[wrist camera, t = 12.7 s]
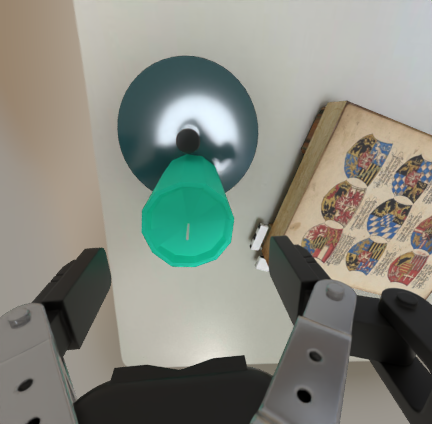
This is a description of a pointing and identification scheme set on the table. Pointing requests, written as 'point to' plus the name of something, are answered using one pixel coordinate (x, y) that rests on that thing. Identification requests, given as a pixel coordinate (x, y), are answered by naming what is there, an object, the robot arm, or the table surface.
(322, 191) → the book
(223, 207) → the candle
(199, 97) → the pot lid
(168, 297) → the table surface
